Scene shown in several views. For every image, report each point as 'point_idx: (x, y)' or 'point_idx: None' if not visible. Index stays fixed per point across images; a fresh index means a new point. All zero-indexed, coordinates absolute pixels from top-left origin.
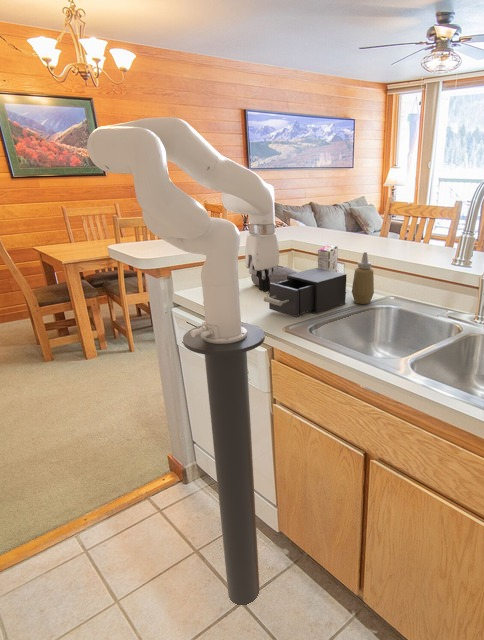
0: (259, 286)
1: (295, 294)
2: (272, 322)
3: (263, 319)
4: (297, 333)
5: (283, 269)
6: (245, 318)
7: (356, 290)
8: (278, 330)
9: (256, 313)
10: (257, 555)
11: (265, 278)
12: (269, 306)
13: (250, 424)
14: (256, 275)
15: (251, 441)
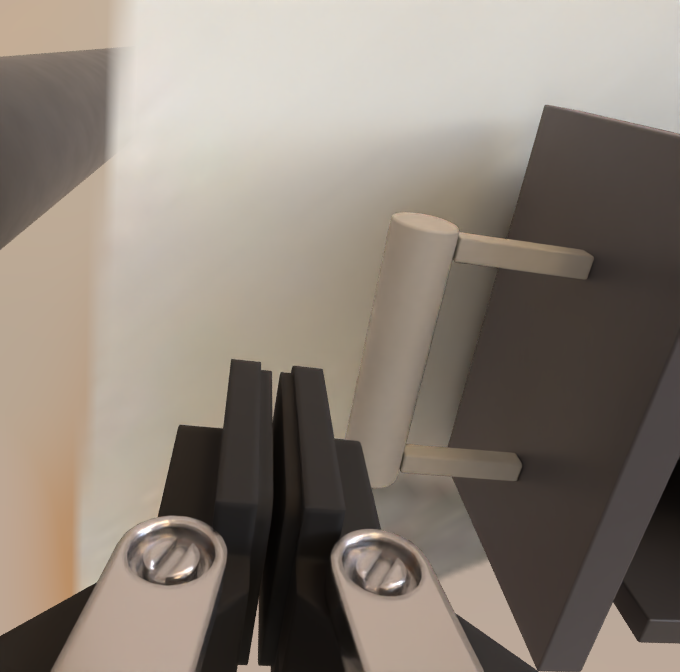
0: (175, 446)
1: (521, 615)
2: (280, 326)
3: (296, 207)
4: None
5: None
6: (201, 17)
7: None
8: (159, 472)
9: (411, 11)
10: None
11: (284, 613)
12: (554, 112)
13: (34, 221)
14: (20, 650)
15: (66, 194)
